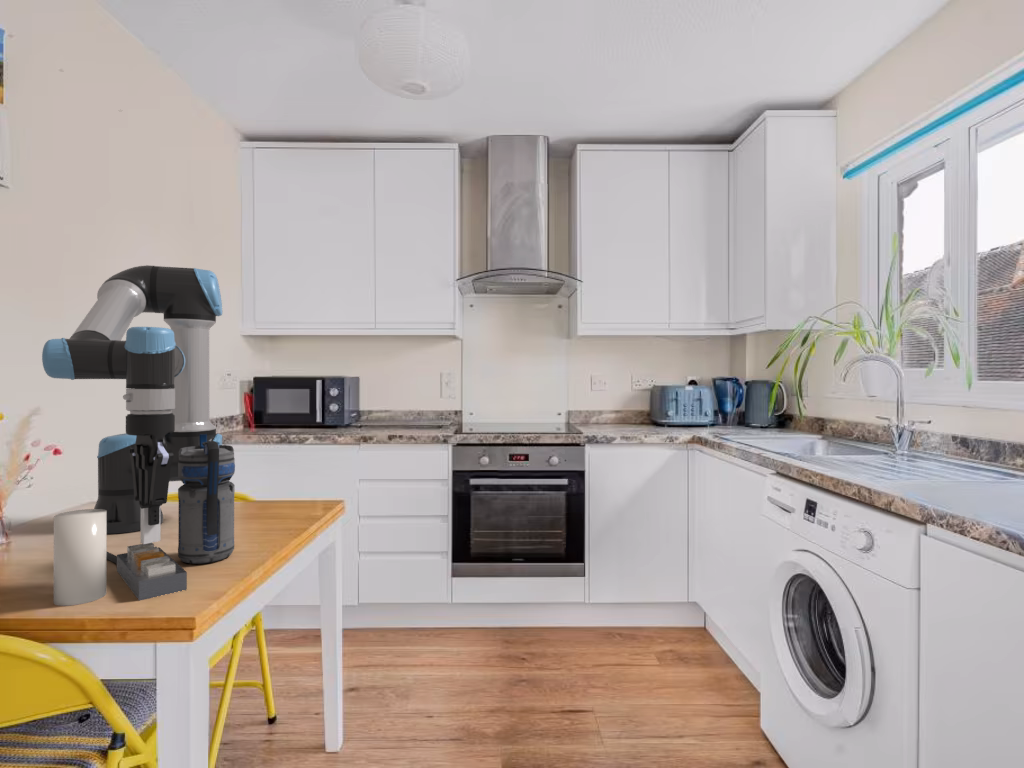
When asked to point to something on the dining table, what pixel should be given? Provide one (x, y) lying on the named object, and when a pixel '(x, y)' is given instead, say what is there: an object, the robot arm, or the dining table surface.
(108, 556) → the dark gray rod
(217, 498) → the beverage bottle
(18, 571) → the dining table surface
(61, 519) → the white glossy cylinder
